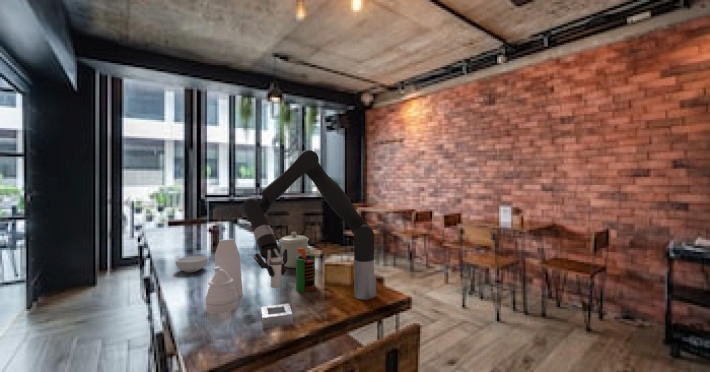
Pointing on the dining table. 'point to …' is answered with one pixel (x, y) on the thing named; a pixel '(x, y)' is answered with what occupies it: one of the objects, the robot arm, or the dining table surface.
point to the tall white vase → (230, 262)
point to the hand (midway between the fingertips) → (278, 274)
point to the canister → (293, 247)
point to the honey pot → (221, 293)
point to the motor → (305, 271)
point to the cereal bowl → (191, 263)
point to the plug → (276, 272)
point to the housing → (276, 315)
